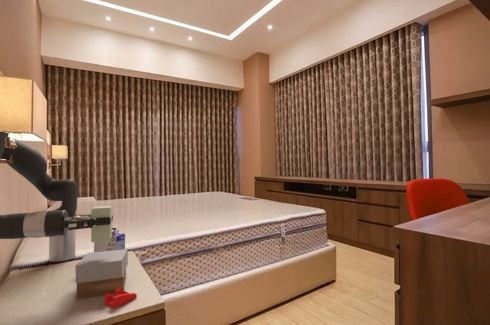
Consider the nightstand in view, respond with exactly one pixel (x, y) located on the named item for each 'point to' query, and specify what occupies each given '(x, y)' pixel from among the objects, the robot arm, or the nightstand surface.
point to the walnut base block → (100, 287)
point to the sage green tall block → (101, 231)
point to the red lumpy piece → (118, 298)
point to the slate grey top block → (102, 266)
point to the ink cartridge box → (111, 243)
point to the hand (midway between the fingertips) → (111, 219)
